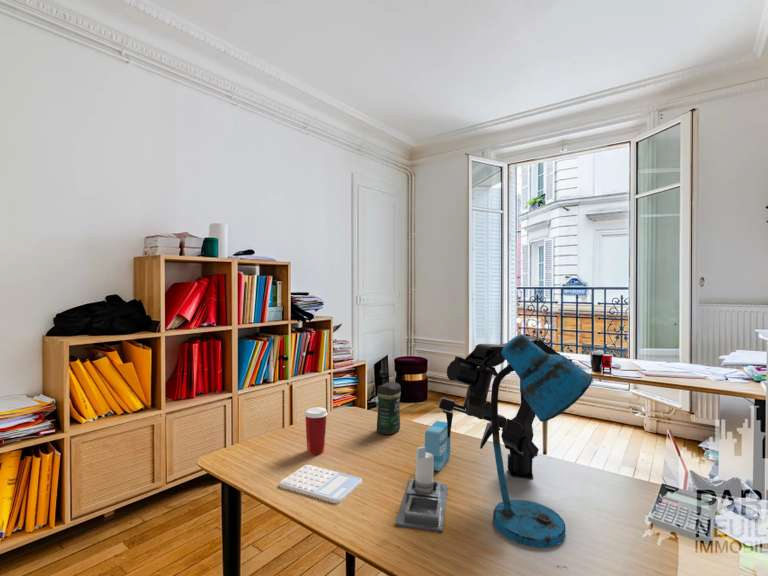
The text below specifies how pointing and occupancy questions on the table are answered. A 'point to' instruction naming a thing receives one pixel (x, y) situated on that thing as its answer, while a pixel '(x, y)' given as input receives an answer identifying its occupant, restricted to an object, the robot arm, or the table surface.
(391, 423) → the coffee jar
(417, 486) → the plug
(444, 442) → the data package
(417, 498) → the panel
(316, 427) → the paper cup
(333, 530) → the table surface
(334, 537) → the table surface
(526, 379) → the desk lamp
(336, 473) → the calculator
